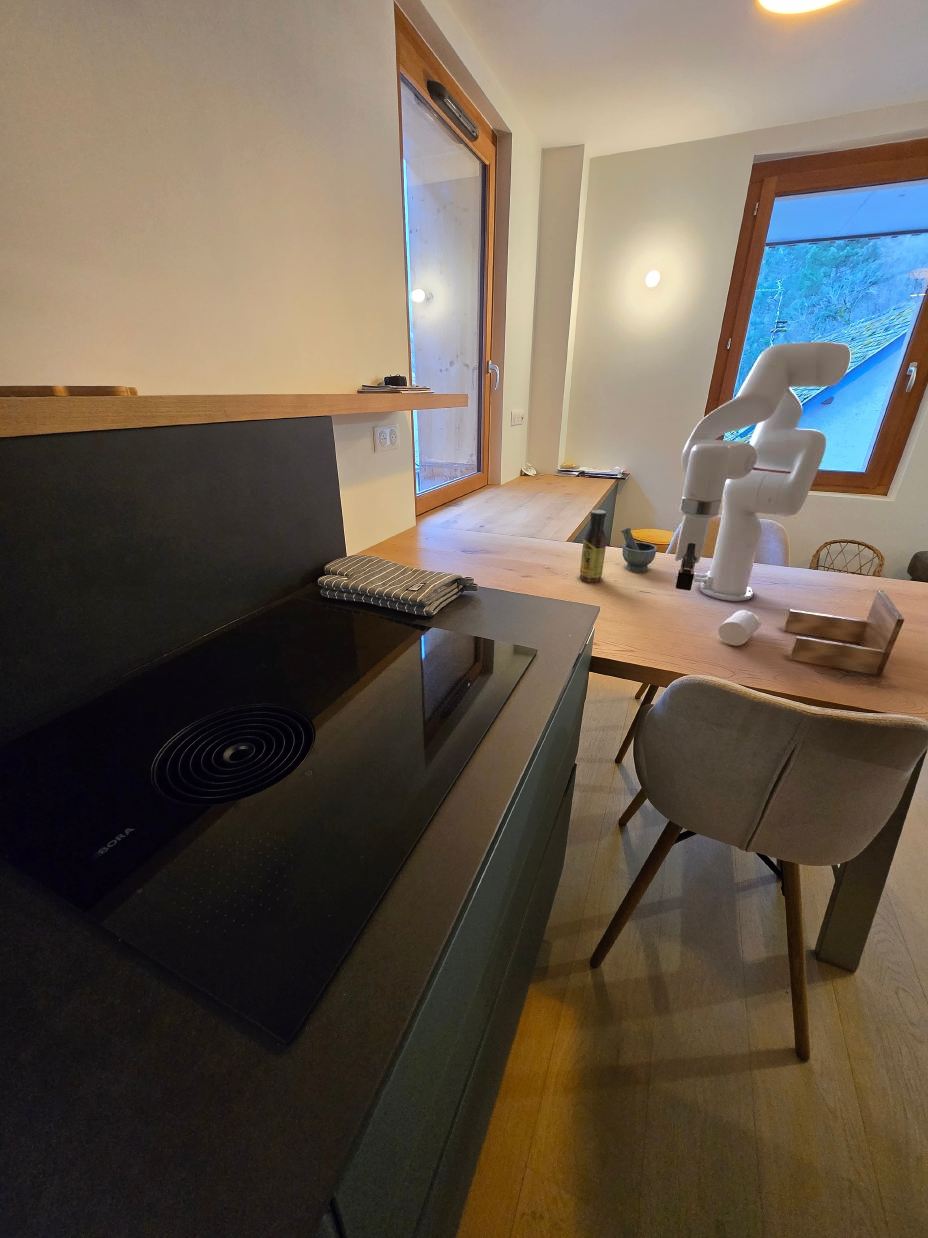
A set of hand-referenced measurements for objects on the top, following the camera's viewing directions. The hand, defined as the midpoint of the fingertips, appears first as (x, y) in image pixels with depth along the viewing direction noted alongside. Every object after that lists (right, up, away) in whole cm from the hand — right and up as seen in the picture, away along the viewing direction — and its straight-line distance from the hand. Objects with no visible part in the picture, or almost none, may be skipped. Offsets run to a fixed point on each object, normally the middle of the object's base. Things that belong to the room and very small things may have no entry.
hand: (683, 588), depth 110 cm
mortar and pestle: (+3, +9, +40) cm, 41 cm away
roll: (+12, -11, -1) cm, 16 cm away
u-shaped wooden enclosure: (+27, -13, -7) cm, 31 cm away
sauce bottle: (-13, +4, +31) cm, 34 cm away
